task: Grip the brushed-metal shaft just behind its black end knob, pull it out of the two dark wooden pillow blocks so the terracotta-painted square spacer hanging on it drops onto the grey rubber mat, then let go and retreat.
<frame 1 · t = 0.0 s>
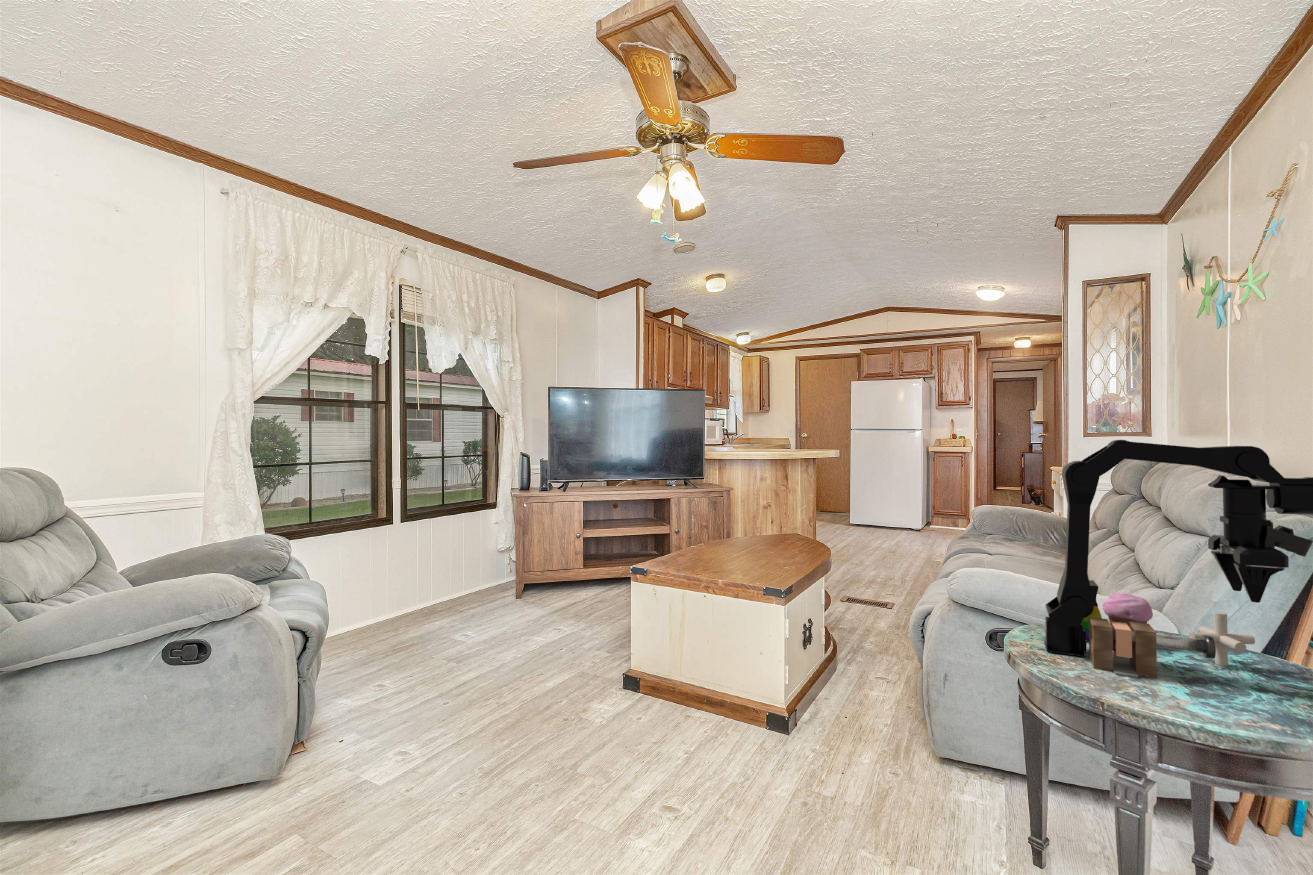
hand: (1245, 596, 111), 15 cm above the table, fingers open, 9 cm apart
decorative egg: (1079, 637, 133), on the table
spacer: (1121, 652, 115), point 3 cm above the table, touching shaft
pipe connector: (1221, 665, 116), on the table
shaft: (1152, 640, 113), point 6 cm above the table, slide at 0.0 cm, touching spacer
cupcake: (1127, 639, 131), on the table
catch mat: (1121, 667, 115), on the table
pillow blocks: (1143, 670, 113), on the table
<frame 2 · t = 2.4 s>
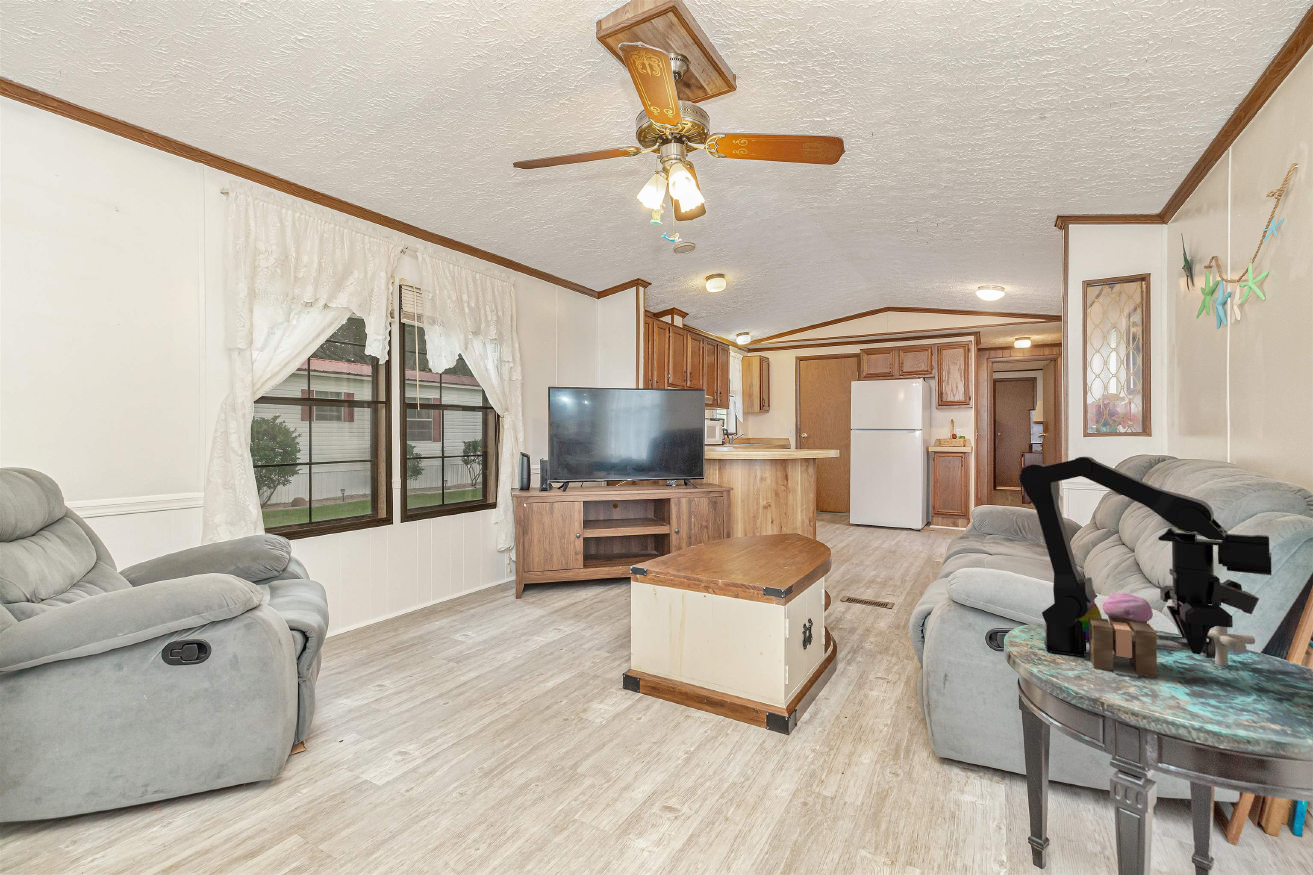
hand: (1194, 651, 110), 5 cm above the table, fingers closed on shaft, 2 cm apart
shaft: (1152, 640, 113), point 6 cm above the table, slide at 0.0 cm, touching gripper, spacer
everything else where it was.
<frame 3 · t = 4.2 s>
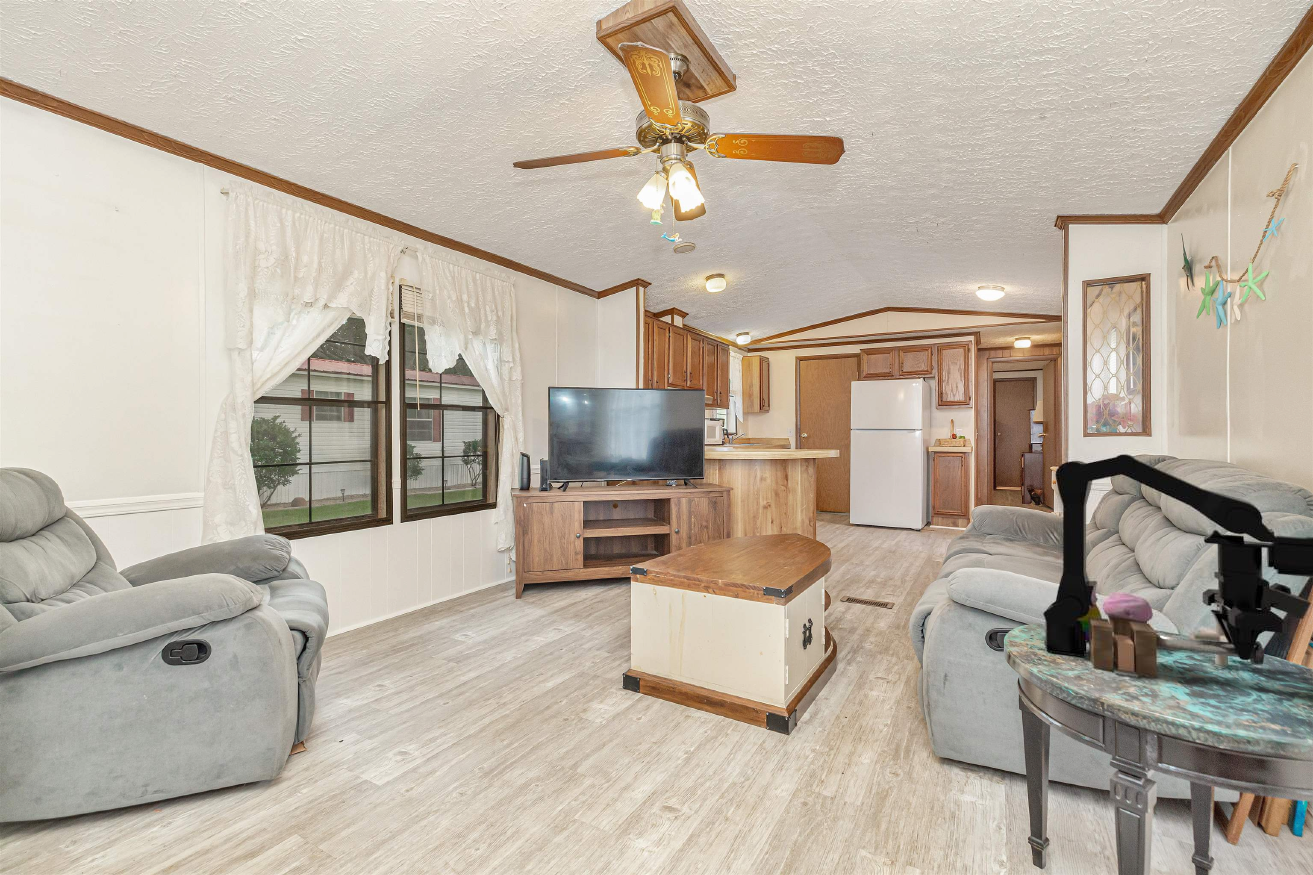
hand: (1241, 657, 107), 5 cm above the table, fingers closed on shaft, 2 cm apart
spacer: (1123, 665, 115), resting on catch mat
shaft: (1196, 645, 110), point 6 cm above the table, slide at 6.3 cm, touching gripper
everything else where it was.
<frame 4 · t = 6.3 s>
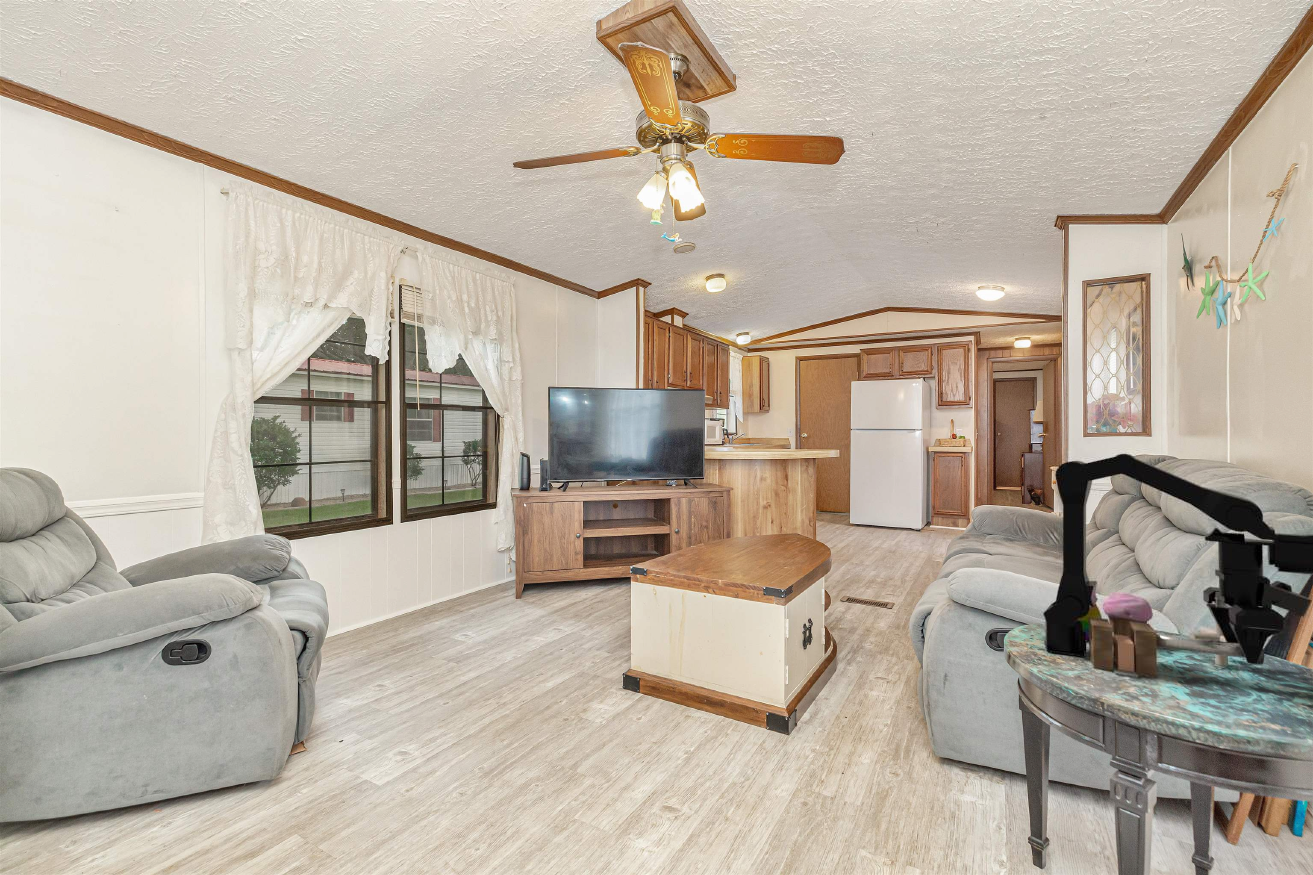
hand: (1242, 654, 107), 5 cm above the table, fingers open, 9 cm apart
shaft: (1196, 645, 110), point 6 cm above the table, slide at 6.3 cm
everything else where it was.
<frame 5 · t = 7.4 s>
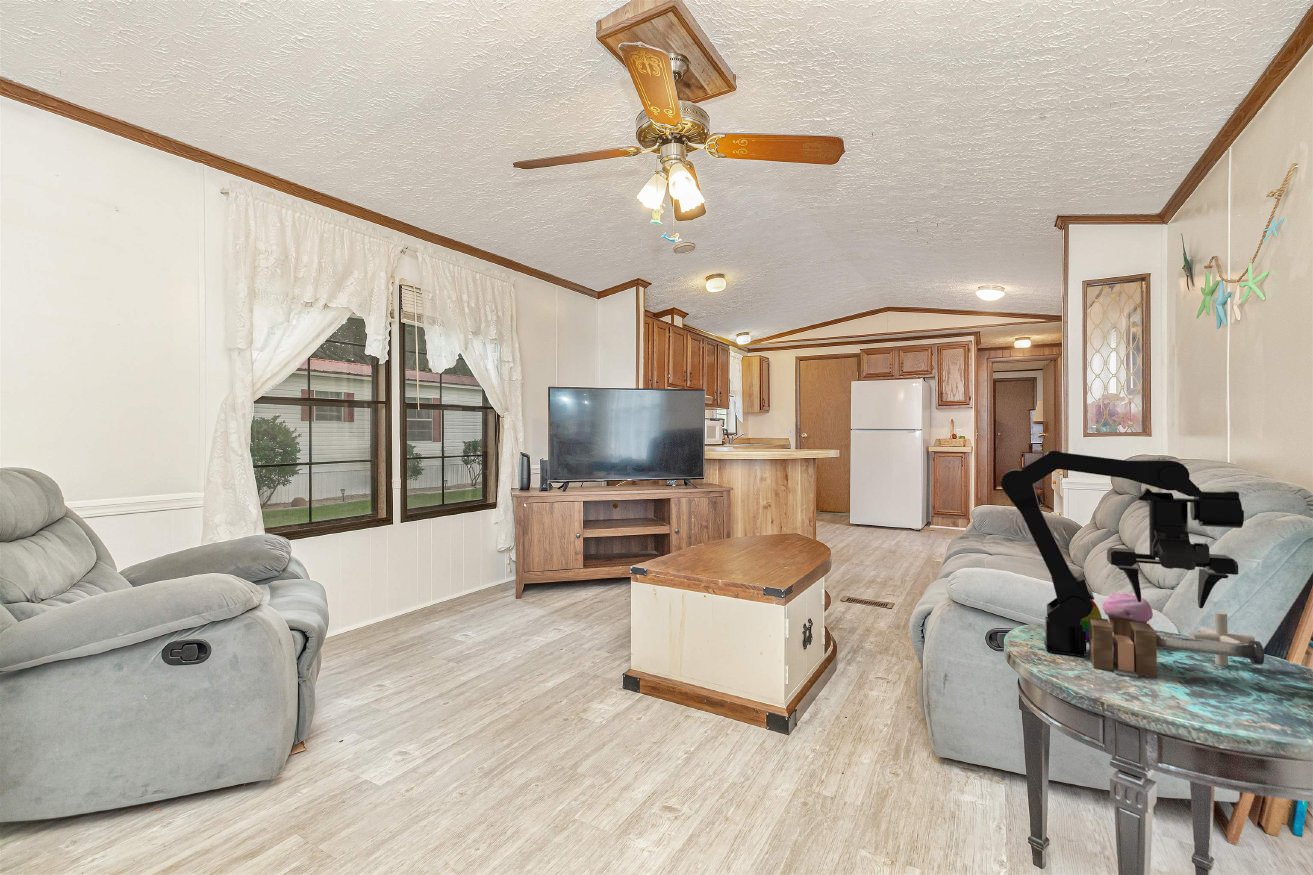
hand: (1169, 604, 115), 12 cm above the table, fingers open, 9 cm apart
nothing on the table moved.
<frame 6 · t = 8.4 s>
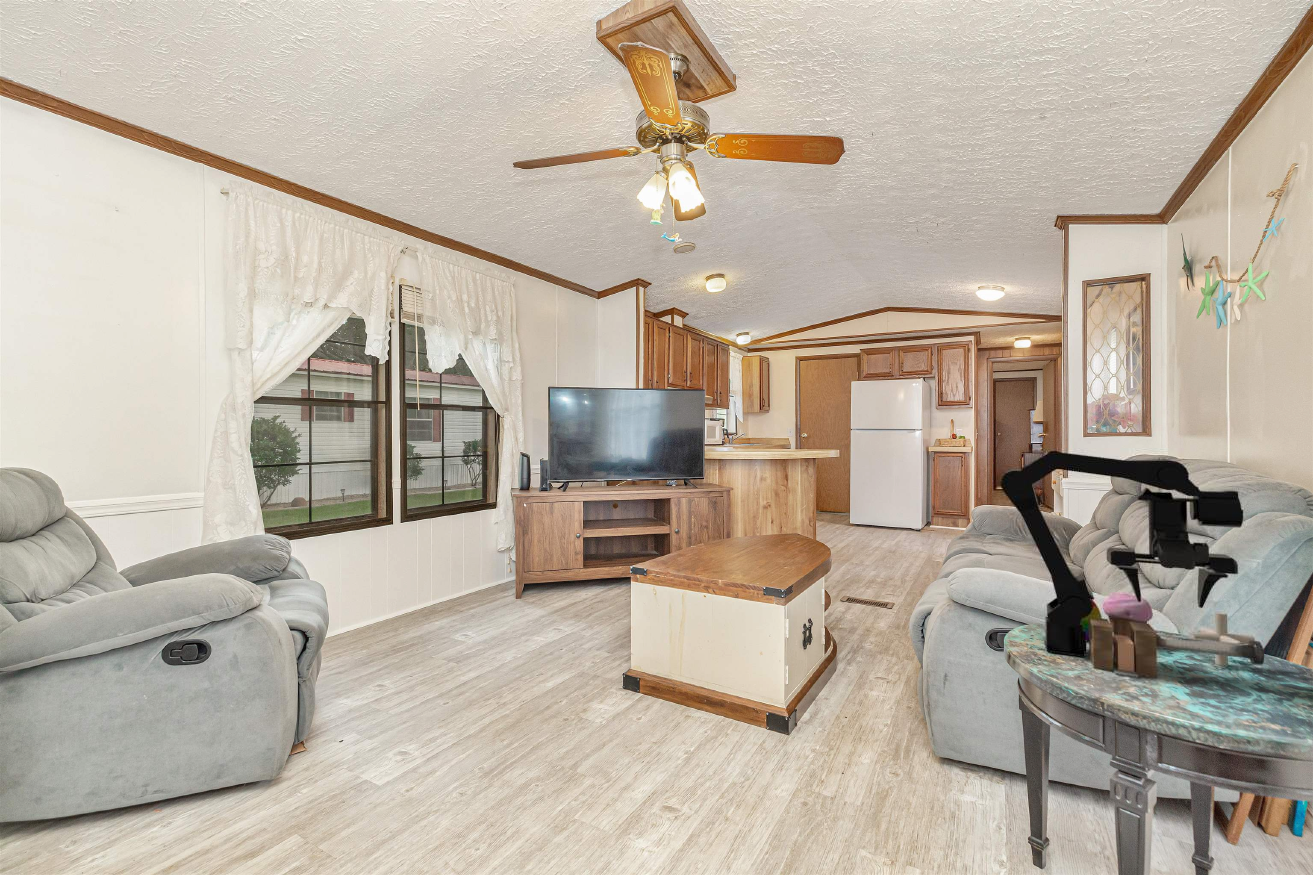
hand: (1169, 604, 115), 12 cm above the table, fingers open, 9 cm apart
nothing on the table moved.
at the end: shaft slide at 6.3 cm; spacer resting on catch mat; spacer touching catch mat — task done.
